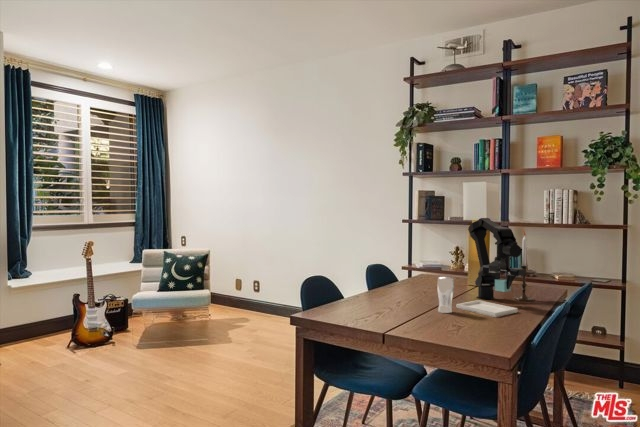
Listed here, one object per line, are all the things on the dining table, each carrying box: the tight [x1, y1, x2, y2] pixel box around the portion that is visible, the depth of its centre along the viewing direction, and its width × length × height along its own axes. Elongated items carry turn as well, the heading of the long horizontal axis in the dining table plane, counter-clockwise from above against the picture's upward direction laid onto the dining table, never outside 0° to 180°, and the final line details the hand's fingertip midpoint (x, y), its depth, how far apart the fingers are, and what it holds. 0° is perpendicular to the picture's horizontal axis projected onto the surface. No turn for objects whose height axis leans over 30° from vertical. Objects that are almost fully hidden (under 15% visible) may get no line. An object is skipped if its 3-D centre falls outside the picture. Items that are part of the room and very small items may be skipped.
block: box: [494, 278, 512, 293], centre depth 210 cm, size 5×5×5 cm
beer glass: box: [436, 276, 455, 314], centre depth 197 cm, size 7×7×15 cm
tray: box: [456, 299, 518, 318], centre depth 200 cm, size 20×16×2 cm
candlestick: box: [513, 229, 537, 302], centre depth 224 cm, size 11×11×35 cm
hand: (502, 288), depth 210 cm, fingers closed on block, 5 cm apart
